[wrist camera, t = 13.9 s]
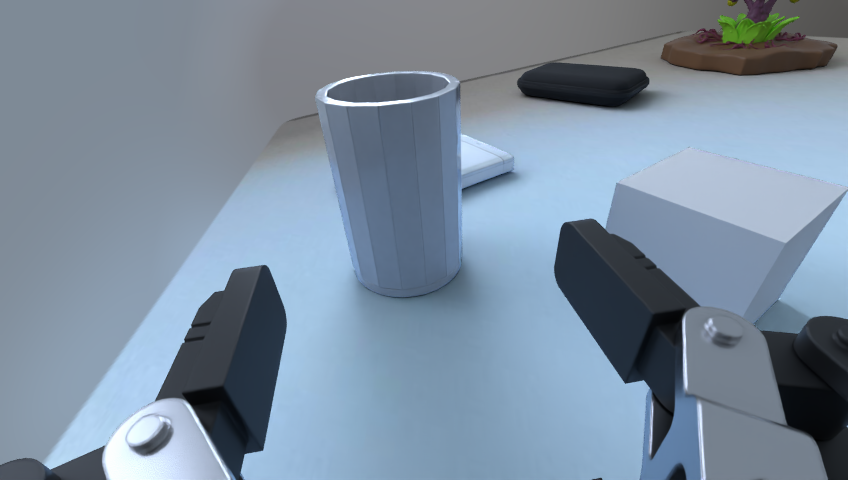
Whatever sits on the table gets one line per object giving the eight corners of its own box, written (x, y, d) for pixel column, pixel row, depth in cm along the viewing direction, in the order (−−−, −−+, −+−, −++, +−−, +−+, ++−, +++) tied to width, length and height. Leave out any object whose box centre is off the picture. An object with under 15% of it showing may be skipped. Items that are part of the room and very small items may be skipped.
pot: (337, 290, 21) (287, 106, 15) (375, 228, 26) (349, 72, 20) (451, 304, 19) (444, 105, 14) (468, 235, 24) (468, 69, 19)
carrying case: (653, 90, 49) (548, 79, 57) (660, 65, 47) (551, 58, 56) (622, 111, 43) (510, 96, 51) (629, 83, 41) (512, 72, 50)
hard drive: (380, 201, 26) (515, 153, 31) (336, 164, 32) (455, 129, 37) (383, 221, 27) (513, 172, 32) (340, 182, 32) (456, 145, 37)
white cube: (716, 361, 16) (786, 243, 12) (590, 285, 20) (615, 182, 16) (778, 298, 18) (850, 186, 15) (655, 243, 22) (689, 146, 19)
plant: (637, 59, 65) (655, -19, 59) (725, 46, 69) (750, -28, 63) (751, 80, 49) (793, -23, 43) (856, 62, 53) (908, -35, 47)
